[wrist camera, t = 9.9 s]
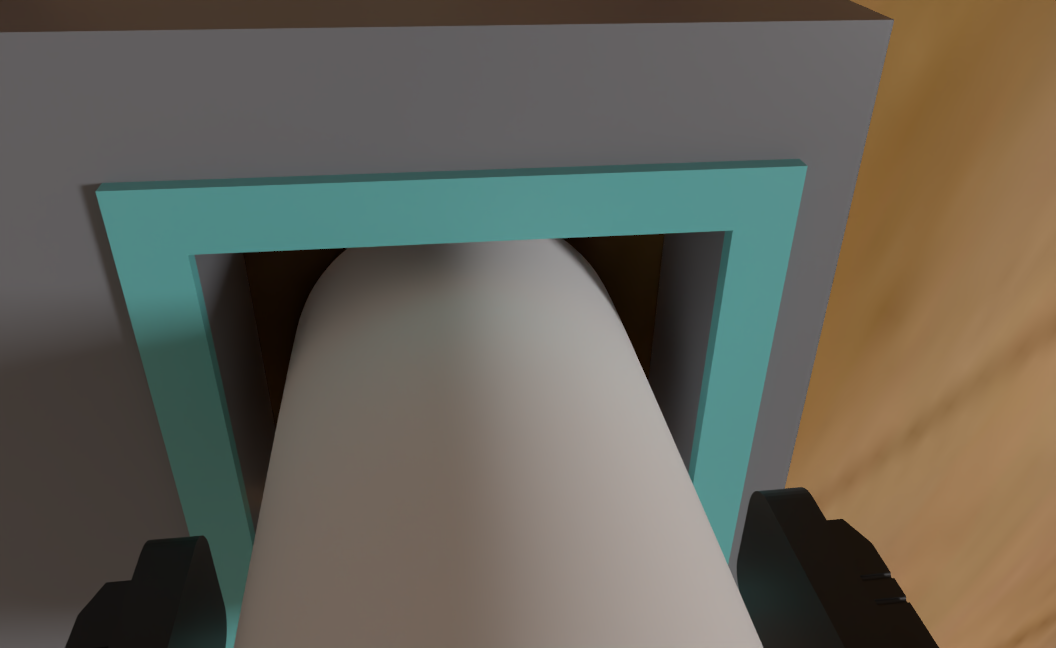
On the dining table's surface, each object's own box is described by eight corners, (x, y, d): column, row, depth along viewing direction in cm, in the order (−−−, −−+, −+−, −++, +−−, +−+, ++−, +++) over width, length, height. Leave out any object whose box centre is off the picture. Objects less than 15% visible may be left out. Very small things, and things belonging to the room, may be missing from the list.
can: (287, 455, 18) (148, 1281, 8) (306, 175, 15) (112, 960, 5) (576, 473, 19) (769, 1197, 9) (649, 220, 16) (1064, 904, 6)
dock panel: (-964, -4, 11) (-1410, 59, 8) (805, -19, 14) (904, 24, 11) (-385, 662, 19) (-522, 813, 16) (703, 560, 22) (748, 672, 19)
